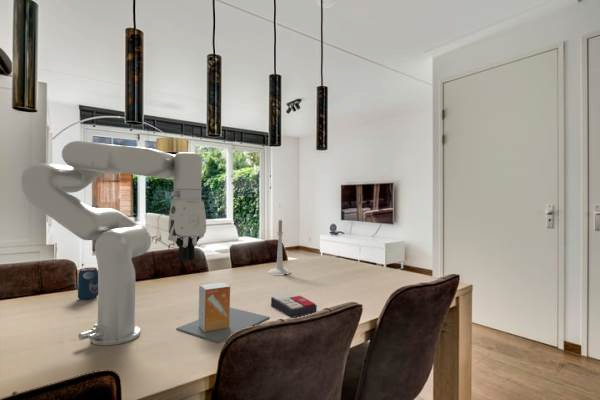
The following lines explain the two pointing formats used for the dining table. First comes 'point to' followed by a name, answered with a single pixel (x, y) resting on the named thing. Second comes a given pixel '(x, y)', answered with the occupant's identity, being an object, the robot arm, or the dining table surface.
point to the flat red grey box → (293, 305)
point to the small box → (214, 306)
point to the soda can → (87, 284)
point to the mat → (236, 322)
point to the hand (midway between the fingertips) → (186, 260)
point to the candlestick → (279, 255)
